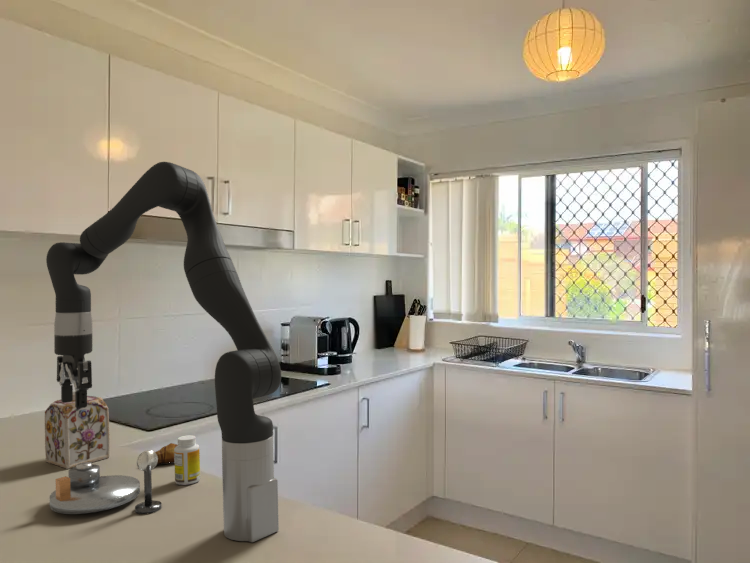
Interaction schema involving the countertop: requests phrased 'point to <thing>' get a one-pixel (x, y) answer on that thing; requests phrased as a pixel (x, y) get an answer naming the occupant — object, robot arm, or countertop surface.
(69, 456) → the decorative jar
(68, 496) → the turntable
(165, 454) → the croissant
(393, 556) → the countertop surface
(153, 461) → the dial stand
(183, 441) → the supplement bottle
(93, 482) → the cover
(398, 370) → the countertop surface
